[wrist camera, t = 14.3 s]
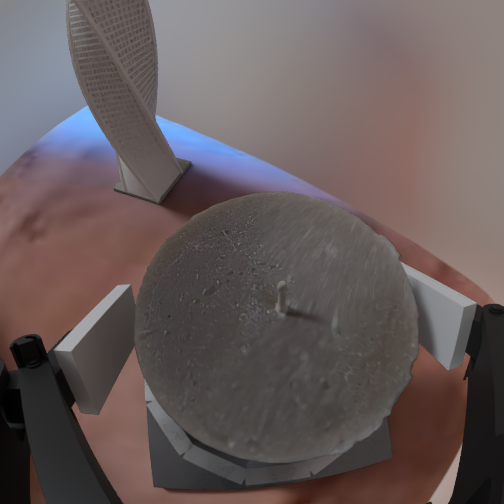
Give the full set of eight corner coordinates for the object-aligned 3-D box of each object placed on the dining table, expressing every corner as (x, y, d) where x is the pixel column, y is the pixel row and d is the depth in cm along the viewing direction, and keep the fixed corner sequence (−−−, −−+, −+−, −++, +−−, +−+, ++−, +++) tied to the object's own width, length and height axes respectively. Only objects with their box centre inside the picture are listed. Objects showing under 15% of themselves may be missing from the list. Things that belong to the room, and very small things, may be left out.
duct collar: (157, 484, 16) (139, 495, 13) (152, 280, 26) (137, 258, 22) (387, 456, 17) (410, 460, 14) (347, 262, 26) (359, 238, 23)
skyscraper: (201, 166, 34) (171, -76, 10) (164, 216, 30) (92, -70, 6) (147, 153, 35) (99, -51, 12) (109, 197, 31) (27, -29, 8)
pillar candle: (176, 354, 21) (72, 255, 8) (278, 288, 24) (302, 134, 11) (250, 458, 17) (244, 542, 4) (355, 379, 20) (488, 311, 7)
